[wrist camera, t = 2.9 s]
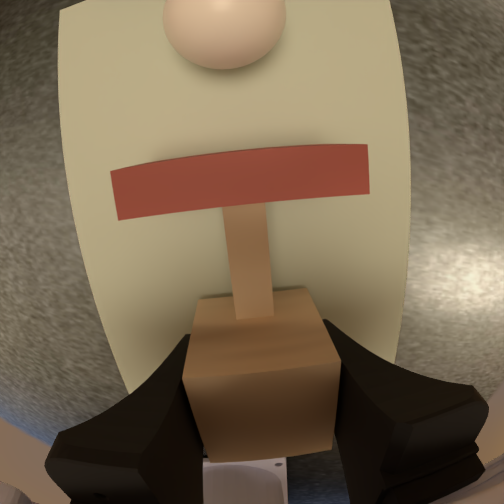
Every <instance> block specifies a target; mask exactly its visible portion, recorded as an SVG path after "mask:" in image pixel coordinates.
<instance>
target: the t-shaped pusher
mask: <svg viewBox="0 0 504 504" xmlns="http://www.w3.org/2000/svg"><path fill="white" fill-rule="evenodd" d="M110 174H111V181H112V188H113V194H114V200H115V206H116V211H117V217H118V221H120V220H127V219H134V218H140V217H148V216H155V215H162V214H170V213H177V212H185V211H193V210H201V209H210V208H218V207H222V211H223V220H224V228H225V236H226V244H227V252H228V260H229V268H230V275H231V283H232V291H233V296H230V297H220V298H209V299H199V300H198V303H197V307H196V312H195V317H194V321H193V326H192V331H191V336H190V341H189V345H188V350H187V355H186V360H185V365H184V371H183V376H182V380H183V383H184V387H185V390H186V393H187V396H188V400H189V403H190V406H191V409H192V412H193V415H194V418H195V421H196V424H197V427H198V430H199V433H200V436H201V439H202V442H203V444H204V447H205V450H206V453H207V455H208V458H209V461H210V463H226V462H243V461H255V460H265V459H274V458H283V457H290V456H297V455H303V454H310V453H315V452H321V451H326V450H331V449H332V442H333V435H334V427H335V419H336V410H337V401H338V391H339V380H340V368H341V359H340V357H339V355H338V353H337V351H336V349H335V346H334V344H333V342H332V340H331V338H330V336H329V334H328V331H327V329H326V327H325V325H324V323H323V321H322V319H321V317H320V314H319V312H318V310H317V308H316V306H315V304H314V302H313V300H312V298H311V296H310V294H309V291H308V289H307V288H301V289H293V290H285V291H276V292H272V280H271V267H270V255H269V243H268V231H267V219H266V208H265V202H276V201H287V200H298V199H310V198H322V197H335V196H350V195H365V194H370V185H369V159H368V144H310V145H293V146H278V147H265V148H254V149H244V150H234V151H225V152H216V153H208V154H200V155H193V156H186V157H179V158H172V159H166V160H160V161H154V162H148V163H143V164H138V165H134V166H129V167H125V168H121V169H116V170H112V171H110Z"/></svg>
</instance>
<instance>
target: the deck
mask: <svg viewBox="0 0 504 504" xmlns="http://www.w3.org/2000/svg"><path fill="white" fill-rule="evenodd" d="M165 2H166V0H86V1H83V2H81V3H78V4H75V5H73V6H70V7H68V8H65V9H63V10H60V19H59V37H58V91H59V110H60V124H61V135H62V145H63V153H64V161H65V169H66V176H67V182H68V188H69V194H70V200H71V206H72V211H73V216H74V221H75V226H76V230H77V235H78V239H79V244H80V248H81V252H82V256H83V260H84V264H85V268H86V272H87V275H88V279H89V283H90V286H91V290H92V293H93V296H94V300H95V303H96V306H97V309H98V312H99V316H100V319H101V322H102V325H103V328H104V330H105V333H106V336H107V339H108V342H109V345H110V347H111V350H112V353H113V355H114V358H115V361H116V363H117V366H118V368H119V371H120V373H121V376H122V378H123V381H124V383H125V385H126V388H127V390H128V392H129V394H131V393H132V392H133V391H134V390H135V389H137V388H138V387H139V386H140V385H141V384H142V383H144V382H145V381H146V380H147V379H148V378H149V377H150V376H151V375H152V373H153V372H154V371H155V370H156V369H157V368H158V367H159V366H160V365H161V364H162V362H163V361H164V360H165V359H166V358H167V357H168V355H169V354H170V353H171V352H172V350H173V349H174V348H175V347H176V345H177V344H178V343H179V341H180V340H181V339H182V338H183V337H184V335H185V334H191V331H192V326H193V321H194V317H195V312H196V307H197V303H198V300H199V299H209V298H220V297H230V296H233V291H232V283H231V275H230V268H229V260H228V252H227V244H226V236H225V228H224V220H223V211H222V207H218V208H210V209H201V210H193V211H185V212H177V213H170V214H162V215H155V216H148V217H140V218H134V219H127V220H120V221H118V217H117V211H116V206H115V200H114V194H113V188H112V181H111V174H110V171H112V170H116V169H121V168H125V167H129V166H134V165H138V164H143V163H148V162H154V161H160V160H166V159H172V158H179V157H186V156H193V155H200V154H208V153H216V152H225V151H234V150H244V149H254V148H265V147H278V146H293V145H310V144H368V159H369V185H370V194H365V195H350V196H335V197H322V198H310V199H298V200H287V201H276V202H265V208H266V219H267V231H268V243H269V255H270V267H271V280H272V292H276V291H285V290H293V289H301V288H307V289H308V291H309V294H310V296H311V298H312V300H313V302H314V304H315V306H316V308H317V310H318V312H319V314H320V317H321V319H327V320H329V321H330V322H331V323H332V324H334V325H335V326H336V327H337V328H339V329H340V330H341V331H342V332H344V333H345V334H346V335H348V336H349V337H350V338H352V339H353V340H354V341H356V342H357V343H358V344H360V345H361V346H363V347H364V348H366V349H367V350H369V351H371V352H372V353H374V354H376V355H377V356H379V357H381V358H383V359H384V360H386V361H389V362H391V363H393V364H394V362H395V356H396V351H397V345H398V339H399V333H400V326H401V320H402V312H403V305H404V296H405V287H406V278H407V266H408V253H409V237H410V210H411V169H410V143H409V127H408V114H407V103H406V94H405V85H404V77H403V70H402V63H401V57H400V51H399V45H398V39H397V34H396V29H395V24H394V19H393V15H392V10H391V6H390V2H389V0H284V2H285V6H286V22H285V26H284V30H283V32H282V35H281V37H280V38H279V40H278V41H277V43H276V44H275V46H274V47H273V48H272V49H271V50H270V51H269V52H268V53H267V54H266V55H264V56H263V57H261V58H260V59H258V60H256V61H255V62H253V63H251V64H248V65H245V66H242V67H239V68H233V69H211V68H206V67H203V66H199V65H197V64H194V63H192V62H190V61H189V60H187V59H185V58H184V57H183V56H181V55H180V54H179V53H178V52H177V51H176V50H175V49H174V48H173V47H172V45H171V44H170V42H169V40H168V38H167V36H166V34H165V31H164V27H163V9H164V4H165Z"/></svg>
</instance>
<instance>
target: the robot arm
mask: <svg viewBox="0 0 504 504" xmlns="http://www.w3.org/2000/svg"><path fill="white" fill-rule="evenodd" d="M322 321H323V323H324V325H325V327H326V329H327V331H328V334H329V336H330V338H331V340H332V342H333V344H334V346H335V349H336V351H337V353H338V355H339V357H340V359H341V368H340V380H339V391H338V401H337V410H336V419H335V427H334V433H335V436H336V440H337V444H338V448H339V452H340V456H341V460H342V465H343V469H344V474H345V478H346V483H347V488H348V493H349V499H350V504H504V453H503V454H502V455H500V456H498V457H497V458H495V459H494V460H491V461H490V462H488V463H486V464H484V465H483V464H482V463H481V461H480V459H479V458H478V456H477V454H476V453H477V452H478V451H479V447H478V446H477V444H476V443H475V439H476V438H477V436H478V434H479V432H480V431H481V429H482V427H483V425H484V423H485V421H486V419H487V417H488V412H489V406H488V404H487V402H486V401H485V400H484V399H483V397H482V396H481V395H480V394H479V392H478V391H477V390H476V389H475V388H474V387H473V386H472V385H465V384H458V383H451V382H446V381H441V380H437V379H433V378H429V377H426V376H423V375H420V374H417V373H414V372H411V371H409V370H406V369H404V368H401V367H399V366H397V365H395V364H393V363H391V362H389V361H386V360H384V359H383V358H381V357H379V356H377V355H376V354H374V353H372V352H371V351H369V350H367V349H366V348H364V347H363V346H361V345H360V344H358V343H357V342H356V341H354V340H353V339H352V338H350V337H349V336H348V335H346V334H345V333H344V332H342V331H341V330H340V329H339V328H337V327H336V326H335V325H334V324H332V323H331V322H330V321H329V320H327V319H322ZM190 336H191V334H185V335H184V337H183V338H182V339H181V340H180V341H179V343H178V344H177V345H176V347H175V348H174V349H173V350H172V352H171V353H170V354H169V355H168V357H167V358H166V359H165V360H164V361H163V362H162V364H161V365H160V366H159V367H158V368H157V369H156V370H155V371H154V372H153V373H152V375H151V376H150V377H149V378H148V379H147V380H146V381H145V382H144V383H142V384H141V385H140V386H139V387H138V388H137V389H135V390H134V391H133V392H132V393H131V394H129V395H128V396H127V397H125V398H124V399H123V400H121V401H120V402H118V403H117V404H115V405H114V406H112V407H111V408H109V409H108V410H106V411H104V412H103V413H101V414H99V415H97V416H95V417H94V418H92V419H90V420H88V421H86V422H83V423H81V424H79V425H76V426H74V427H71V428H69V429H66V430H64V431H61V432H59V433H58V435H57V437H56V439H55V441H54V443H53V445H52V447H51V450H50V452H49V454H48V456H47V459H46V461H45V468H46V471H47V473H48V475H49V476H50V477H51V479H52V480H53V481H54V482H55V483H56V484H57V485H58V486H59V487H60V488H61V489H62V490H63V491H64V493H66V494H67V496H68V497H70V498H71V502H70V504H288V495H287V468H286V457H283V458H274V459H265V460H255V461H243V462H226V463H210V461H209V458H203V446H204V444H203V442H202V439H201V436H200V433H199V430H198V427H197V424H196V421H195V418H194V415H193V412H192V409H191V406H190V403H189V400H188V396H187V393H186V390H185V387H184V383H183V380H182V376H183V371H184V365H185V360H186V355H187V350H188V345H189V341H190ZM0 504H38V503H35V502H32V501H31V500H30V499H29V498H28V497H27V496H26V495H25V494H24V493H23V492H22V491H20V490H19V489H17V488H15V487H13V486H11V485H8V484H6V483H4V482H1V481H0Z"/></svg>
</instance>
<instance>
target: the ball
mask: <svg viewBox="0 0 504 504" xmlns="http://www.w3.org/2000/svg"><path fill="white" fill-rule="evenodd" d="M285 22H286V6H285V2H284V0H166V2H165V4H164V9H163V27H164V31H165V34H166V36H167V38H168V40H169V42H170V44H171V45H172V47H173V48H174V49H175V50H176V51H177V52H178V53H179V54H180V55H181V56H183V57H184V58H185V59H187V60H189V61H190V62H192V63H194V64H197V65H199V66H203V67H206V68H211V69H233V68H239V67H242V66H245V65H248V64H251V63H253V62H255V61H256V60H258V59H260V58H261V57H263V56H264V55H266V54H267V53H268V52H269V51H270V50H271V49H272V48H273V47H274V46H275V44H276V43H277V41H278V40H279V38H280V37H281V35H282V32H283V30H284V26H285Z"/></svg>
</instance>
